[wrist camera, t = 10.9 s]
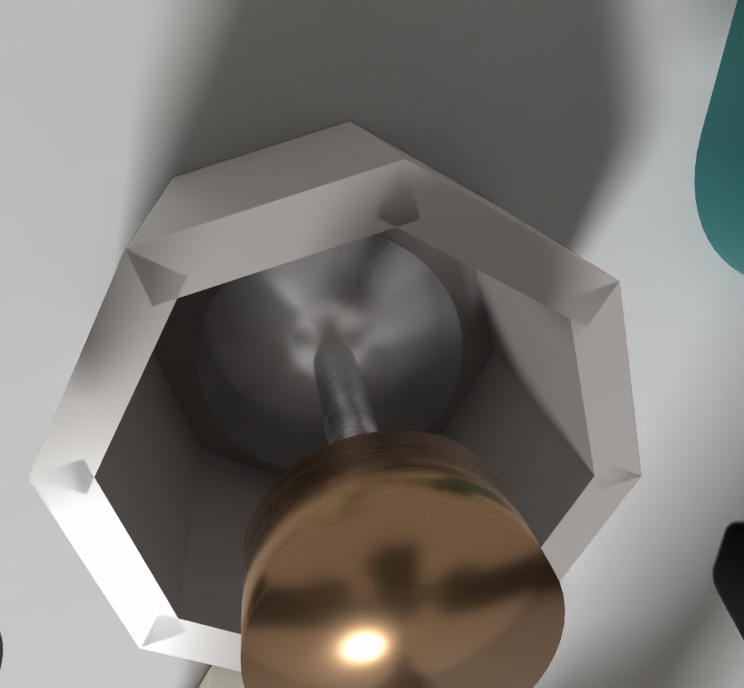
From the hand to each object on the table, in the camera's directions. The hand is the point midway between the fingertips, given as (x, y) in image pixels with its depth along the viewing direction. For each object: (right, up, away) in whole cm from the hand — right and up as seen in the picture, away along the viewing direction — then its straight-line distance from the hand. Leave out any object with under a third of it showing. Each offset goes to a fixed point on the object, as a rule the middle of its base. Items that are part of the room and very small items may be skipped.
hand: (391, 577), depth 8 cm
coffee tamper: (-1, +3, +6) cm, 7 cm away
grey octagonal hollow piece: (-1, +3, +7) cm, 8 cm away
